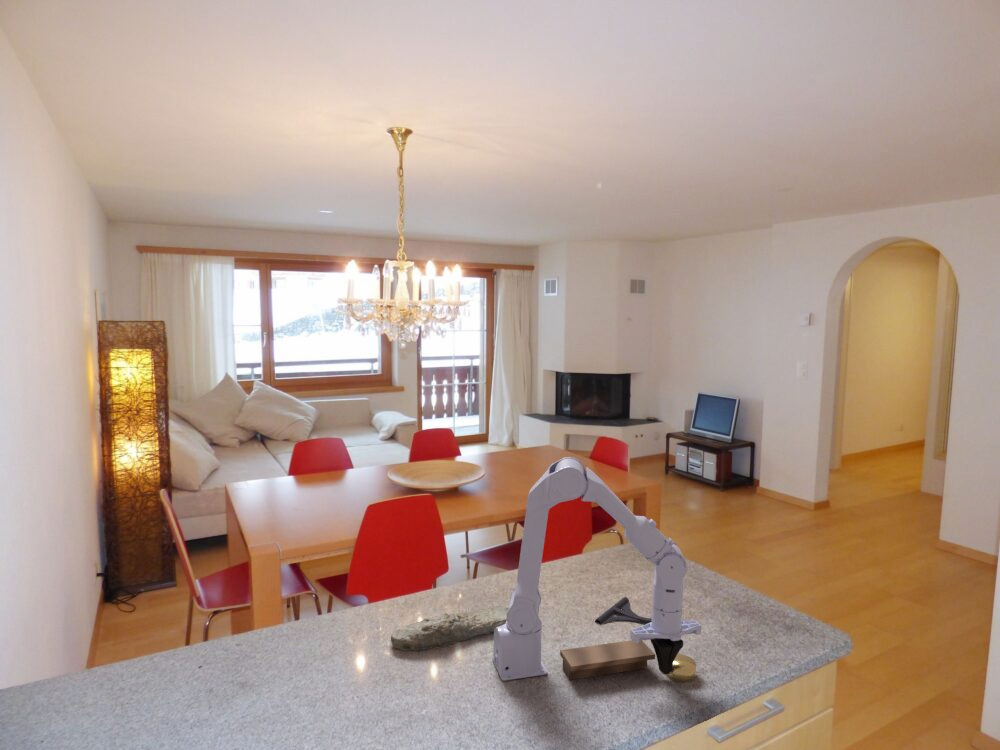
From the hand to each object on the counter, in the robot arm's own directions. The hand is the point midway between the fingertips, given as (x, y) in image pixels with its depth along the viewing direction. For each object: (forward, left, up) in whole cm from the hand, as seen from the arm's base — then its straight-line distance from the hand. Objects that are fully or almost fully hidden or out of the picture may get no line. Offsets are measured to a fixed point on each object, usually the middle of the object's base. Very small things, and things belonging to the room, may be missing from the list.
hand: (664, 671), depth 122 cm
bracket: (+6, +22, -2) cm, 23 cm away
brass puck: (+4, +1, -1) cm, 4 cm away
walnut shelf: (-10, +5, -1) cm, 11 cm away
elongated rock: (-34, +27, -2) cm, 44 cm away
